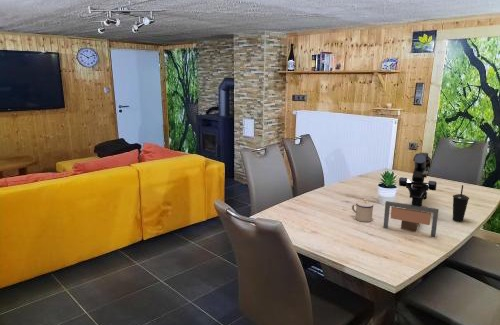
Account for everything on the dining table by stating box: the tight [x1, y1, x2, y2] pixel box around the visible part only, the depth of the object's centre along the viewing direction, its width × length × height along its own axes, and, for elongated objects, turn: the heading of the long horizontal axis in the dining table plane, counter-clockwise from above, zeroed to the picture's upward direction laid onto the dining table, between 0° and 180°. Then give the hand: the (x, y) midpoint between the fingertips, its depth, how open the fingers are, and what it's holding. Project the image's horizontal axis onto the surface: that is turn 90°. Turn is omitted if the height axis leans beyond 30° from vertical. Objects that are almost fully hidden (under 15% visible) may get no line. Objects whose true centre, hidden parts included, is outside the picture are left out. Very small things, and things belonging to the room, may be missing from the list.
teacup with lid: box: [351, 198, 374, 223], centre depth 194 cm, size 12×9×12 cm
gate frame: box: [383, 200, 439, 238], centre depth 176 cm, size 2×24×14 cm, turn 60°
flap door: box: [390, 206, 432, 226], centre depth 175 cm, size 1×18×6 cm, turn 60°
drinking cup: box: [452, 184, 470, 223], centre depth 189 cm, size 8×8×20 cm
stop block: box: [400, 209, 420, 233], centre depth 184 cm, size 14×7×8 cm, turn 147°
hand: (415, 197), depth 191 cm, fingers open, 4 cm apart
